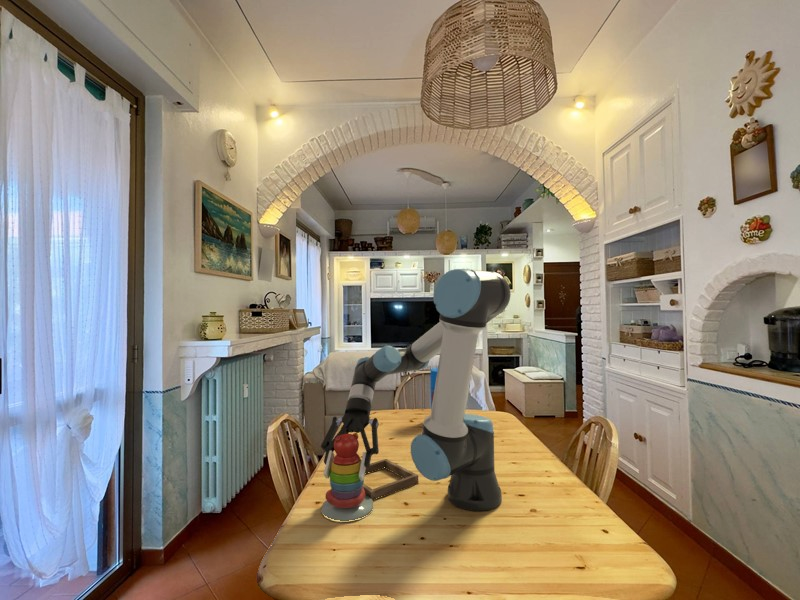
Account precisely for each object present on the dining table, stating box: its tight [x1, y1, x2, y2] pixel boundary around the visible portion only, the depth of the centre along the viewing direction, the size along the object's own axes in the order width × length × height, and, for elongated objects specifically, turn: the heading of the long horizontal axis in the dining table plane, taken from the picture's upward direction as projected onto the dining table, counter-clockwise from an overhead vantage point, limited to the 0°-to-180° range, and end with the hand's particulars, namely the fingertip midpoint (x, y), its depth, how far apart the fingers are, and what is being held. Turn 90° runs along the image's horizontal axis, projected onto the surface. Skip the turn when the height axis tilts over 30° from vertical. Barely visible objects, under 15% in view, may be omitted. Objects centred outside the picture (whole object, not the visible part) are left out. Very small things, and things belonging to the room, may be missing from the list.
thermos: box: [429, 368, 438, 410], centre depth 185 cm, size 11×11×25 cm
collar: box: [363, 458, 419, 501], centre depth 121 cm, size 17×17×2 cm
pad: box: [321, 495, 374, 521], centre depth 105 cm, size 14×14×1 cm
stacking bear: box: [325, 432, 365, 508], centre depth 105 cm, size 11×10×18 cm
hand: (343, 477), depth 102 cm, fingers closed on stacking bear, 9 cm apart
